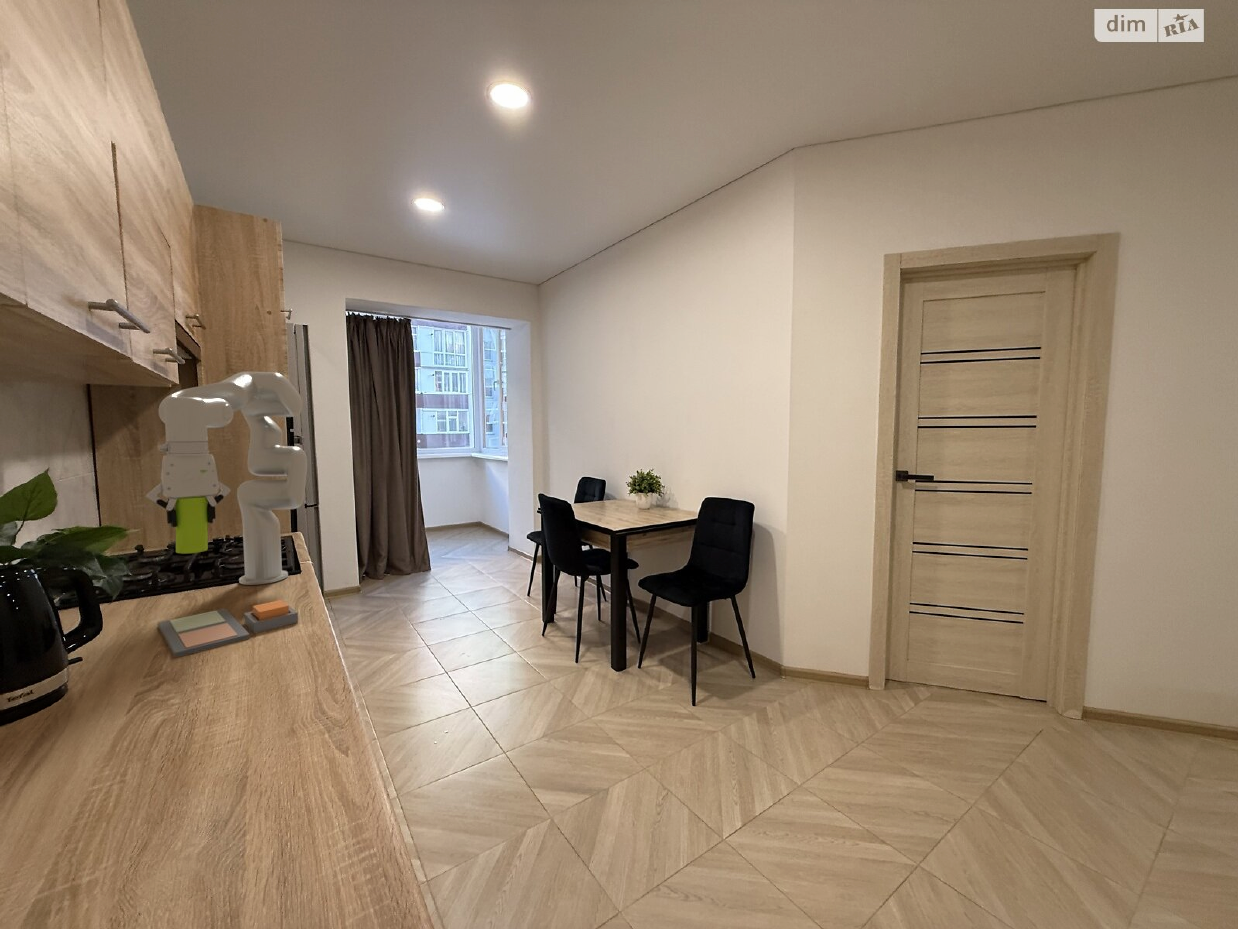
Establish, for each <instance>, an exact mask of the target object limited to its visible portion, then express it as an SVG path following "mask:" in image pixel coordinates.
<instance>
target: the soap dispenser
mask: <svg viewBox="0 0 1238 929" xmlns="http://www.w3.org/2000/svg"><path fill="white" fill-rule="evenodd" d="M205 471H206V470H200V472H201V473H205ZM207 503H208V502H207V498H206V497H205V496H202V497H190V498H177V501H176V503H175V505H174V509H175V510H176V517H177V526H176V527H175V553H176V554H185V555H186V554H195V553H201V552H202V553H203V552H205V551H207V550H208V549H209V547H208V546H209V545H208V544H209V540H208V538H209V534H208V532H209V531H208V528H209V527H208V524H209V522H207Z"/></svg>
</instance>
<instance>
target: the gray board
mask: <svg viewBox="0 0 1238 929" xmlns="http://www.w3.org/2000/svg"><path fill="white" fill-rule="evenodd" d="M157 626H158V629H159V631H160V633H161V634H162V636H163V638H164V639H165V641H166V644H167V646H169V649H170V651H171V653H172V655H173V656H174V658H178V657H179V658H180V657H183V656H185V655H186V656H187V655H189V654H190V655H191V654H194V653H198V652H202V651H205V650H209V649H214V648H218V647H221V646H226V645H229V644H233V643H238V642H241V641H245V640H249V639H250V637H251V636H250V633H249V632H248V631H247V630H246V629H245V628H244V627H243V625H241V623H240V622H239V621H238V620H237V619H236V618H235V617H234V616H233V615H232V614H231V613H230V612H229V611H228V610H227V608H220V609H215V610H210V611H205V612H200V613H196V614H193V615H192V614H190V615H187V616H183V617H178V618H172V619H168V620H164V621H159V622H157Z"/></svg>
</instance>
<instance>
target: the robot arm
mask: <svg viewBox="0 0 1238 929" xmlns="http://www.w3.org/2000/svg"><path fill="white" fill-rule="evenodd" d="M303 406H304V404H303V399H302V396H301V395H300V393H299V391H298V390H297V389H296V388H295V387H294V385H293V384H292V382H291V381H290V380H288V378H287V377H285V376H284V375H282V374H280V373H278V372H274V371H273V372H272V371H240V372H236V373H235V374H233V375H231V376H229V377H227V378H225V379H224V380H221V381H219V382H215V383H209V384H204V385H200V386H195V387H190V388H189V387H188V388H185V389H180V390H178V391H175V392H174V393H173V392H172V393H171V394H169V395H168V396H165V398H163V400H162V401H161V402H160V404H159V407H158V417H159V419H160V420H161V421H162V423H163V424H164V425H165V426H164V427H165V428H164V429H165V443H164V444H158V445H157V450H158V451H159V452H161V451H162V452H165V453H166V455H163V456H162V462H161V468H160V469H161V471H160V483H158V485H156V486H155V487H154V488H152V489H151V490H150V491H149V492H148V493H146V495H145V496H146V498H147V499H149V500H150V501H152V502H153V503H155V504H157V505H158V506H161V507H162V508H163V509H164V510H166V521H167V524H169V525H170V527H172V528H176V526H177V517H176V510H175V503H176V501H177V498H190V497H202V496H205V497H206V498H207V523H208V524H213V523H214V520H215V519H216V506H217V504H219V503H220V502H221V501H222V500H223V499H224V498H225V497H227V495H229V494H230V492H232V490H231V488H230V487H228V486H227V485H225V484H224V483H222V482H221V481H220V480H219V477H218V470H217V465H216V460H215V457H214V455H213V454H211V453H209V441H208V440H209V436H208V428H211V429H214V428H216V429H217V428H222V427H225V426H228V425H229V424H230V423H231V422H232V421H233V418H234V414H235V413H234V412H238V411H240V412H241V413H242V415H243V417H244V419H245V421H246V423H247V425H248V427H249V431H250V436H249V439H250V440H249V445H248V446H249V447H248V455H247V470H248V473H250V474H251V475H253V476H259V477H286V478H278V479H277V478H275V479H274V478H264V479H263V478H262V479H260V478H259V479H258V478H257V479H250V480H246V481H244V482H242V483H241V484H240V485H239V486H238V487H237V491H236V497H237V503H238V506H239V509H240V513H241V521H242V522H241V523H242V540H243V557H244V558H243V561H244V564H243V565H244V575H242V576H241V577H239V578H238V581H239V584H241V585H245V586H257V585H267V584H273V583H277V582H280V581H282V580H285V579H287V578H288V576H289V572H288V571H287V570H283V566H282V562H283V561H282V541H281V524H280V523H281V522H280V520H279V518H278V517H277V516H276V515H275V513H274V512H273V510H277V511H278V510H295V509H298V508H300V507H302V505H303V504H304V500H305V496H306V484H307V483H306V482H307V473H308V472H307V471H308V458H307V454H306V452H305V450H304V449H303V448H301V447H299V446H293V445H291V446H290V445H287V446H286V445H283V438H284V433H283V430H282V429H281V428H280V426H279V425H278V424H277V423H276V422H275V421H274V420H273V419H272V417H273V418H274V417H276V418H277V417H278V418H291V417H292V418H293V417H297V416H299V415H300V414H301V413H302V411H303ZM200 470H206V471H205V473H201V472H200ZM219 489H220V490H221V491H220V492H219ZM158 494H162V496H164V497H165V498H167V499H166V500H163V499H162V498H160V497H158Z"/></svg>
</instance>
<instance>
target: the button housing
mask: <svg viewBox="0 0 1238 929" xmlns="http://www.w3.org/2000/svg"><path fill="white" fill-rule="evenodd" d="M287 605H288V606H289V613H288V614H284V615H280V616H276V617H272V618H267V619H263V620H259V619H258V618H257V617H256V616H255V615H254V614H253V610H252V611H249V612H244V613H243V614H244V618H243V619H244V624H245V625H246V626H247V627H248V629H250V630H251V632H253V633H254V634H257V633H262V632H266V631H269V630H273V629H277V628H281V627H286V626H289V625H293V624H296V623H299V612H298V611H297V610H295V609H294V608H292V607H291V606H290V605H289V604H287Z"/></svg>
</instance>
